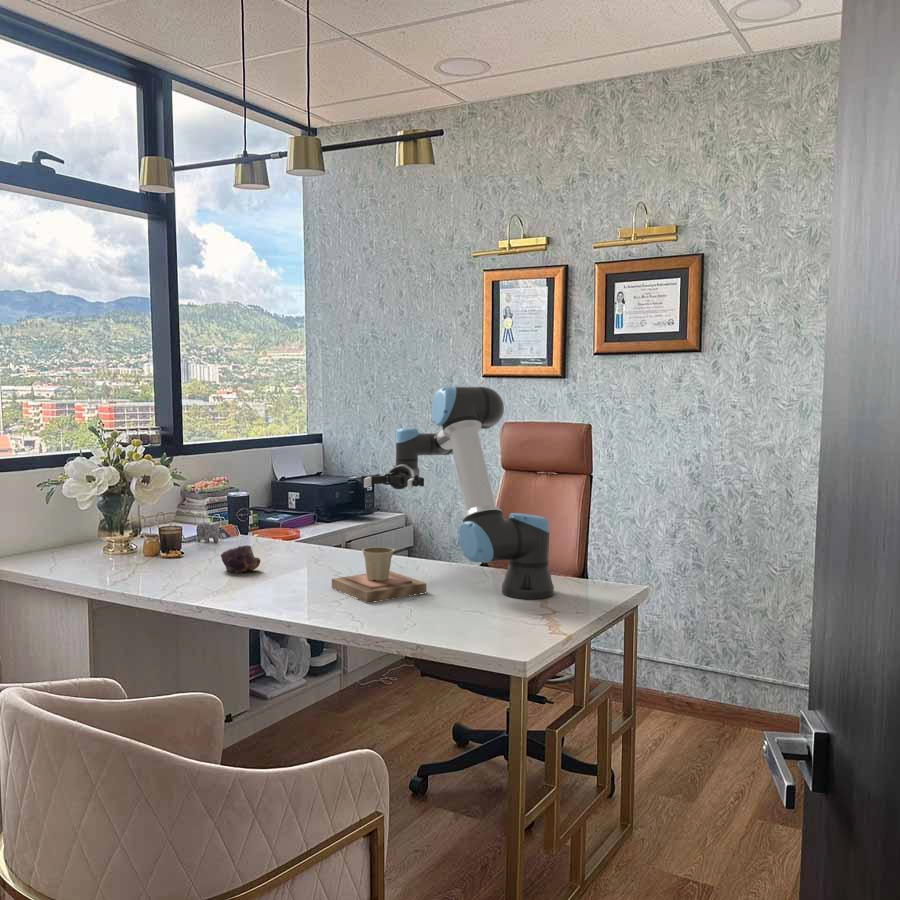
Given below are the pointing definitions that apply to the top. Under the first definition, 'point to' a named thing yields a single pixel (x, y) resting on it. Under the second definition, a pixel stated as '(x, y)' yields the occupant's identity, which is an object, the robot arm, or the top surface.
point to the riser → (378, 587)
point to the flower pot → (377, 562)
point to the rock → (240, 559)
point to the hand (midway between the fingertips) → (386, 484)
